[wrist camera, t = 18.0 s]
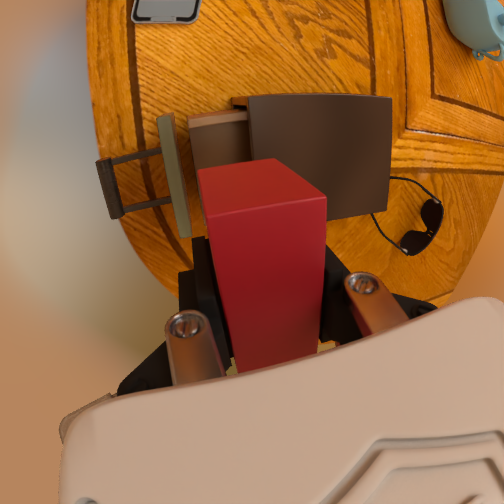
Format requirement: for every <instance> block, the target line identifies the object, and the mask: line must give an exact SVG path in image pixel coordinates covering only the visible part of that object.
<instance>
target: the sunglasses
mask: <svg viewBox="0 0 504 504" xmlns="http://www.w3.org/2000/svg"><path fill="white" fill-rule="evenodd" d="M390 179H400V180H407V181H411V182H414V183H416V184H417V185H419V186H420V187H421V188H422V190H424V191H425V192H426V193H427V194H428V195H430V196H431V197H432V198H433V199H428V200H427V201H426V202H425V203H424V205H423V207H422V209H421V213H420V214H421V218H422V220H423V222H424V224H425V226H426V227H427V231H426V232H422V231H415V230H411V231H409V232H407V233H406V234H405V236H404V237H403V238H402V240H401V242H400V247H401V248H400V247H399V246H398V245H397V244H395V243H394V242H393V241H392V240H390V239H389V238H388V237H387V236H385V234H384V233H383V232H382V230H381V229H380V227H379V225H378V223H377V221H376V219H375V217H374V215H373V213H371V216H372V218H373V220H374V222H375V224H376V226H377V228H378V230H379V231H380V233H381V234H382V235H383V236H384V237H385V238H386V239H387V240H388V241H390V242H391V243H392V244H393V245H394V246H396V247H397V248H398V249H399V250H401V251H402V252H403V253H404V254H406V255H407V256H408V255H410V256H414V255H417V254H418V253H420V252H421V251H423V250H424V249H425V248H426V247H427V246H428V245H429V244H430V243H431V242H432V240H433V239H434V237H435V236H436V234H437V232H438V230H439V228H440V226H441V223H442V219H443V214H444V209H443V206H442V204H441V201H440V200H438V199H437V198H436V197H435V196H434V195H433V194H431V193H430V192H429V191H428V190H427V189H425V188H424V187H423V186H422V185H421V184H419V183H418V182H416V181H414V180H411V179H408V178H402V177H393V176H390ZM430 231H432V232H433V233H432V232H430ZM428 234H429V235H430V236H431V237H430V236H429V235H428Z"/></svg>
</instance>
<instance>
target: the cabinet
mask: <svg viewBox="0 0 504 504" xmlns="http://www.w3.org/2000/svg"><path fill="white" fill-rule="evenodd" d="M231 103H232V109H239V108H247V114H248V124H249V134H250V145H251V155H252V161H255V160H263V159H271V158H275V159H277V160H278V161H279V162H281V163H282V164H284V165H285V166H286V167H288V168H289V169H291V170H292V171H293V172H295V173H296V174H298V175H299V176H300V177H302V178H303V179H304V180H306V181H307V182H308V183H310V184H311V185H313V186H314V187H315V188H316V189H318V190H319V191H320V192H322V193H323V194H324V195H326V197H327V219H326V221H331V220H337V219H343V218H348V217H354V216H360V215H366V214H371V213H377V212H383V211H386V210H387V202H388V192H389V181H390V167H391V149H392V98H391V97H383V96H374V95H363V94H349V93H282V94H265V95H252V96H241V97H232V98H231Z"/></svg>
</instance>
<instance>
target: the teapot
mask: <svg viewBox="0 0 504 504" xmlns="http://www.w3.org/2000/svg"><path fill="white" fill-rule="evenodd" d="M443 6H444V11H445V16H446V19H447V23H448V26H449V29H450V31H451V32H452V34H453V35H454V36H455V37H456V38H457V39H458V40H459V41H461V42H462V43H463V44H465V45H466V46H468V47H469V48H471V49H473V50H472V53H473V56H474V57H475V59H477V60H479V61H480V60H483V58H484V56H483V55H485V56H486V57H488V58H490V59H492V60H494V61H502V60H503V59H504V7H503V6H502V5H501V4H500V3H499V2H498V1H497V0H443ZM497 50H500V54H499V56H497V57H496V56H493V55H491V54H489V53H487V52H490V51H497ZM478 53H480V56H478Z"/></svg>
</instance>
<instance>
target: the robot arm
mask: <svg viewBox="0 0 504 504" xmlns="http://www.w3.org/2000/svg"><path fill="white" fill-rule="evenodd" d="M192 250H193V262H194V269H193V270H188V271H183V272H179V273H178V284H179V312H178V313H176V314H174V315H173V316H171V318H170V319H169V320H168V321H167V323H166V325H165V337H166V341H164V343H162V344H161V345H160V346H159V347H158V348H157V349H156V350H155V351H154V352H153V353H152V354H151V355H149V356H148V357H147V358H146V359H145V360H144V361H143V362H142V363H141V364H140V365H139V366H138V367H137V368H136V369H134V371H132V372H131V373H130V374H129V375H128V376H127V377H126V378H125V379H124V380H123V381H122V382H121V383H120V385H119V388H118V390H117V393H115V394H113V395H111V394H110V393H108V394H106V395H104V396H103V397H101V398H99V399H97V400H95V401H93V402H91V403H89V404H88V405H86V406H84V407H82V408H80V409H78V410H76V411H74V412H72V413H70V414H69V415H67V416H66V417H64V418H63V420H62V421H61V423H60V426H59V434H60V438H61V440H62V443H63V449H62V454H61V461H60V471H59V491H58V494H59V504H504V303H503V302H501V301H500V300H498V299H495V298H491V297H472V298H467V299H463V300H459V301H457V302H453V303H450V304H448V305H446V306H443V307H440V308H437V307H436V306H435V305H433V304H431V303H428V302H425V301H421V300H417V299H413V298H409V297H405V296H402V295H398V294H394V293H390V291H389V290H388V289H387V287H386V286H385V285H384V283H383V282H382V281H381V279H379V278H378V277H377V276H376V275H374V274H372V273H368V272H362V271H361V272H354V273H350V271H349V270H348V269H347V268H346V267H345V266H344V264H343V263H342V262H341V261H340V260H339V259H338V257H337V256H336V255H335V254H334V253H333V252H332V251H331V249H330V248H329V247H328V246H327V245H326V246H325V266H324V282H323V295H322V307H321V319H320V329H319V339H320V341H321V343H324V342H327V341H330V340H333V341H335V345H336V347H335V348H332V349H329V350H325V351H322V352H319V353H315V354H312V355H309V356H305V357H302V358H298V359H295V360H291V361H287V362H284V363H280V364H276V365H272V366H268V367H264V368H260V369H256V370H252V371H247V372H243V373H238V374H234V375H229V376H227V375H226V371H227V370H228V368H229V367H230V366H232V364H231V359H230V358H232V357H234V355H233V351H232V346H231V342H230V338H229V333H228V329H227V324H226V320H225V315H224V310H223V306H222V301H221V296H220V292H219V287H218V282H217V277H216V272H215V268H214V263H213V258H212V252H211V247H210V242H209V238H208V239H205V236H200V237H195V238H192Z"/></svg>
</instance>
